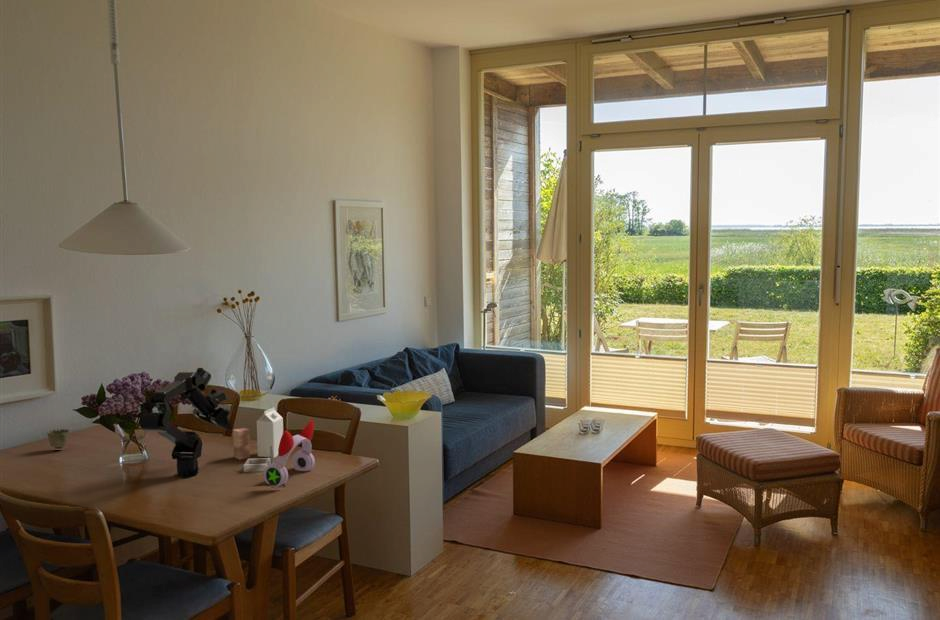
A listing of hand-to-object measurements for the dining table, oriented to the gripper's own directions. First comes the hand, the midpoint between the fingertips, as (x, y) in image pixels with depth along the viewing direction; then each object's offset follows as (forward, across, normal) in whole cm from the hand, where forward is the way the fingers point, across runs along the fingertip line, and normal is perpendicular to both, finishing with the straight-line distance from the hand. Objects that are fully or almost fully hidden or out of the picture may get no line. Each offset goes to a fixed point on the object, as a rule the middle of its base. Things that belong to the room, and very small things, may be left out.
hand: (225, 427), depth 287 cm
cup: (-14, +64, +39) cm, 77 cm away
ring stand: (+12, -19, +7) cm, 24 cm away
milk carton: (+20, -6, -3) cm, 21 cm away
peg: (+14, -2, +4) cm, 15 cm away
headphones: (+15, -36, +4) cm, 39 cm away
